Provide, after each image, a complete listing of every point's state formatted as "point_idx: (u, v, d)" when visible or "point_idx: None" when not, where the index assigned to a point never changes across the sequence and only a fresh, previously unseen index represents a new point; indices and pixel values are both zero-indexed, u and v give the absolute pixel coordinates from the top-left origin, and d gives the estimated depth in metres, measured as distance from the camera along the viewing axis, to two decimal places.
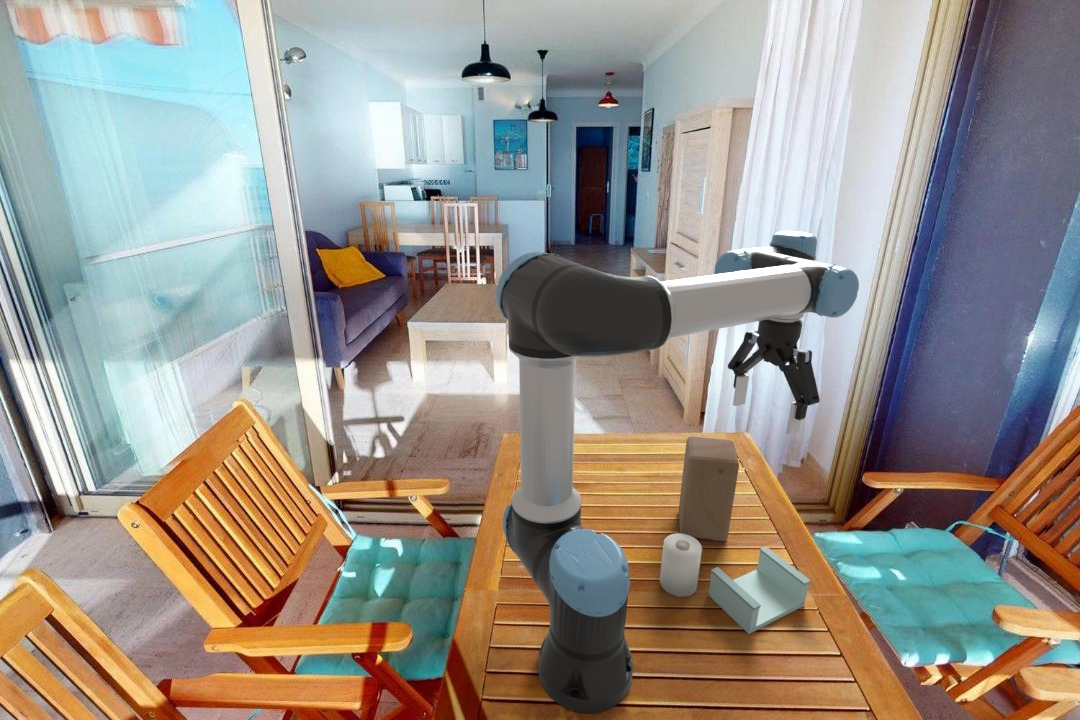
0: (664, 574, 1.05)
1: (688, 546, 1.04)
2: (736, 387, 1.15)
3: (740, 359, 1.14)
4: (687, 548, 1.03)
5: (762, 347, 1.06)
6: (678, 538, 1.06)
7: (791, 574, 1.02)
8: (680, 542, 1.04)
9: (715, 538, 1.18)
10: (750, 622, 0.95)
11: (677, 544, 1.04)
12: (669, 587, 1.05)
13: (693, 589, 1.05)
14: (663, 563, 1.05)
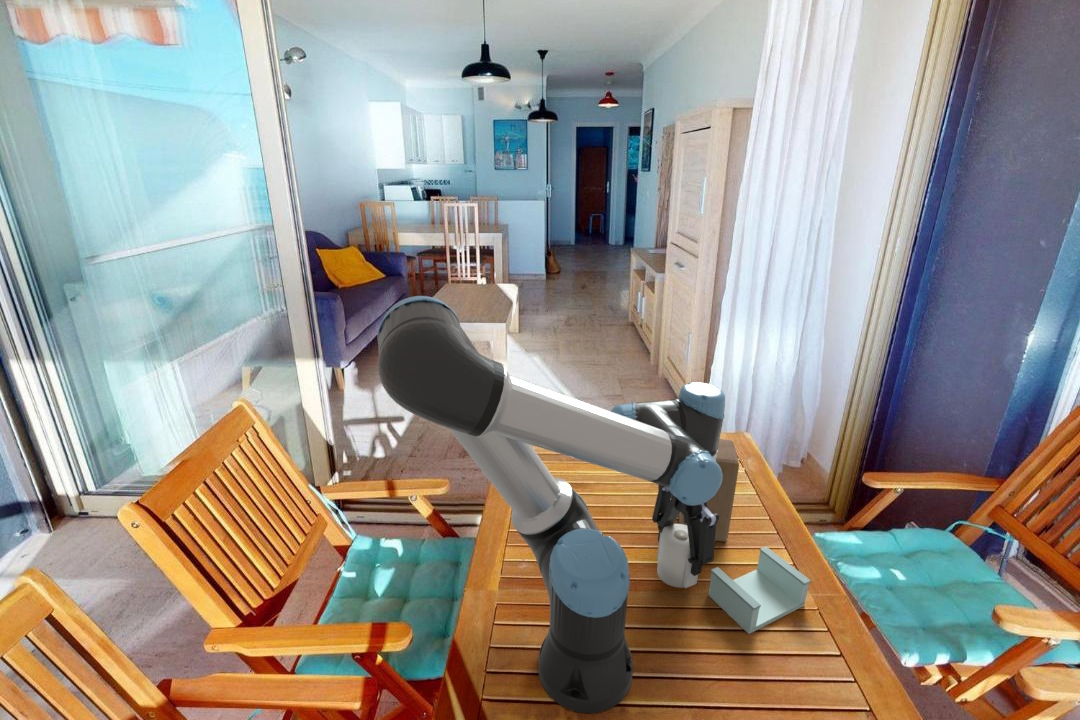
0: (661, 564, 1.04)
1: (687, 536, 1.02)
2: (660, 543, 1.07)
3: (662, 510, 1.07)
4: (686, 538, 1.02)
5: (673, 496, 1.01)
6: (677, 528, 1.05)
7: (791, 574, 1.02)
8: (678, 532, 1.03)
9: (715, 538, 1.18)
10: (750, 622, 0.95)
11: (676, 534, 1.03)
12: (666, 577, 1.03)
13: None
14: (661, 553, 1.04)
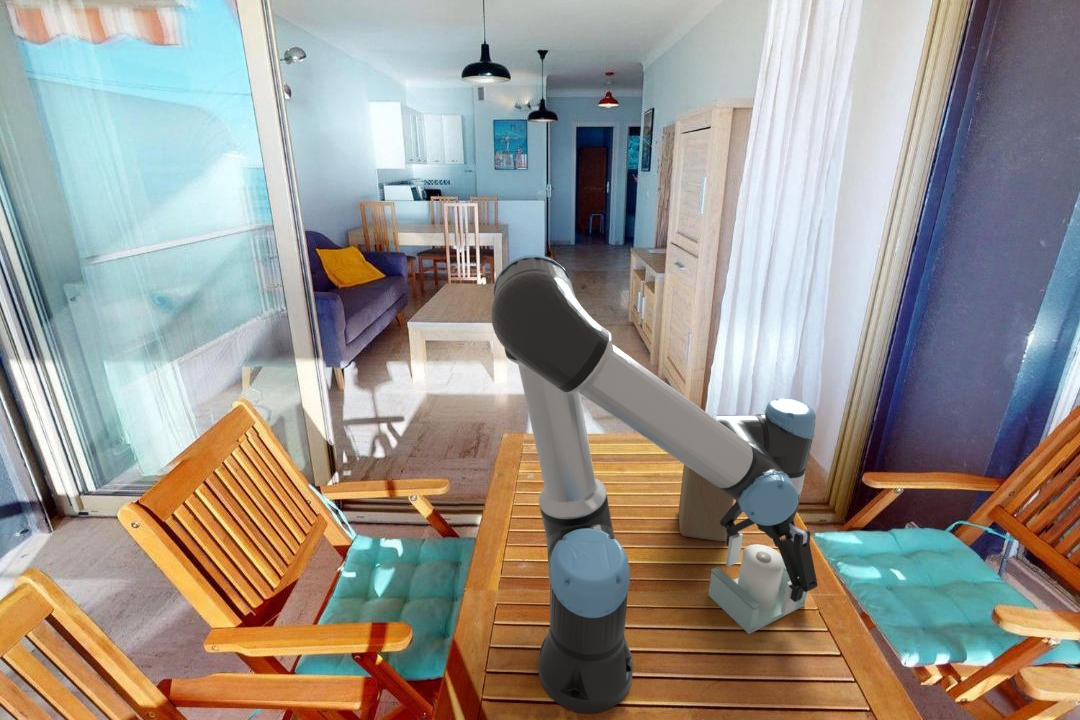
0: (743, 587, 1.01)
1: (770, 558, 0.99)
2: (729, 547, 1.05)
3: (733, 518, 1.05)
4: (769, 560, 0.99)
5: None
6: (757, 549, 1.02)
7: None
8: (760, 554, 1.00)
9: (715, 538, 1.18)
10: (750, 622, 0.95)
11: (758, 556, 1.00)
12: None
13: (774, 603, 1.00)
14: (742, 576, 1.00)
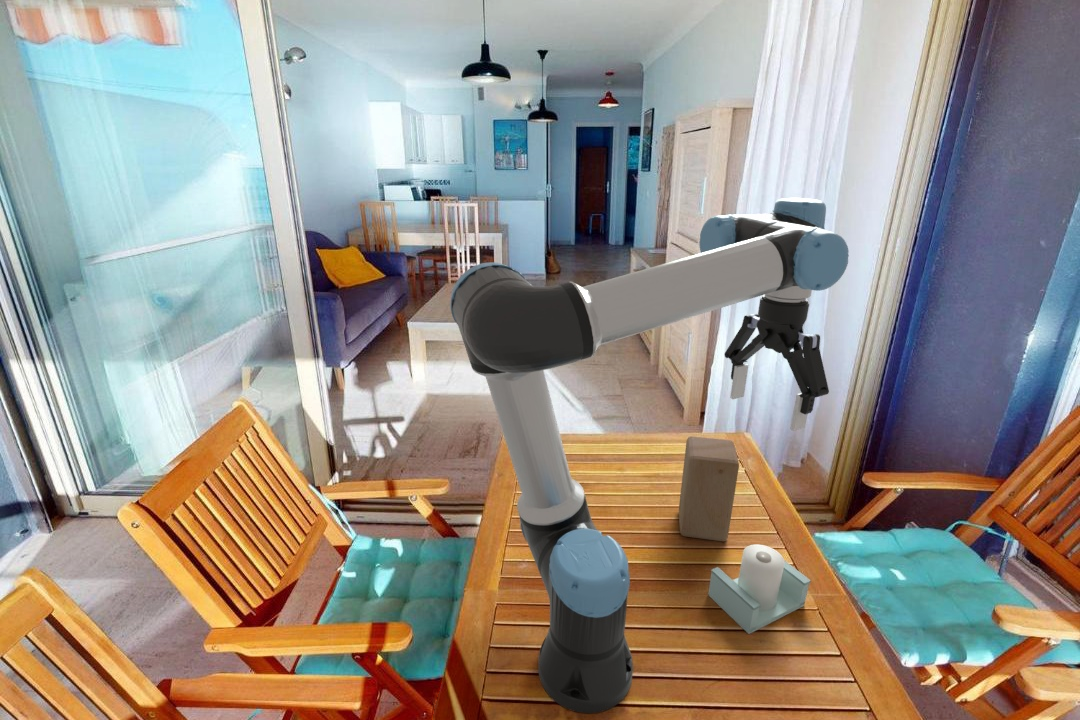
0: (743, 587, 1.01)
1: (770, 558, 0.99)
2: (734, 378, 1.02)
3: (738, 346, 1.02)
4: (769, 560, 0.99)
5: (763, 332, 0.94)
6: (757, 549, 1.02)
7: (791, 574, 1.02)
8: (760, 554, 1.00)
9: (715, 538, 1.18)
10: (750, 622, 0.95)
11: (758, 556, 1.00)
12: None
13: (774, 603, 1.00)
14: (742, 576, 1.00)
